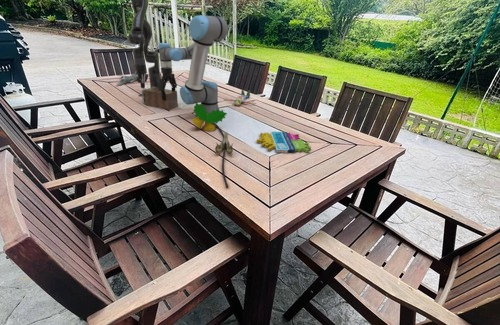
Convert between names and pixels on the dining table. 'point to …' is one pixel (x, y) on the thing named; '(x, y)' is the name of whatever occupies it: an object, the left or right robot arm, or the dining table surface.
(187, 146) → the dining table surface
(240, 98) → the toy
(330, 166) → the dining table surface
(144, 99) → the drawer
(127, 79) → the airplane
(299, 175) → the dining table surface
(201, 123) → the ornament
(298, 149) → the sign
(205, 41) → the right robot arm
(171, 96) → the large taupe box
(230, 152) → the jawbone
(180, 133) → the dining table surface
